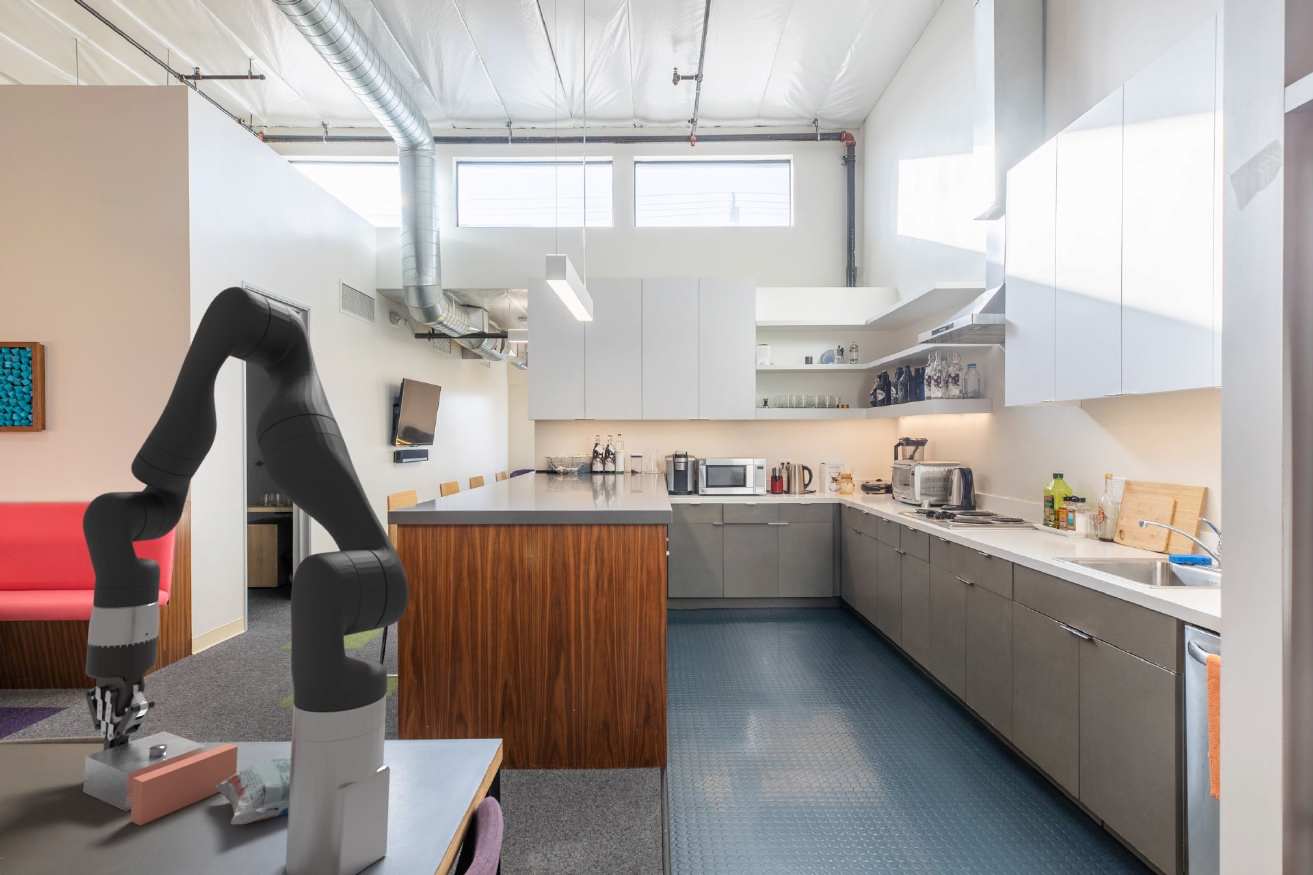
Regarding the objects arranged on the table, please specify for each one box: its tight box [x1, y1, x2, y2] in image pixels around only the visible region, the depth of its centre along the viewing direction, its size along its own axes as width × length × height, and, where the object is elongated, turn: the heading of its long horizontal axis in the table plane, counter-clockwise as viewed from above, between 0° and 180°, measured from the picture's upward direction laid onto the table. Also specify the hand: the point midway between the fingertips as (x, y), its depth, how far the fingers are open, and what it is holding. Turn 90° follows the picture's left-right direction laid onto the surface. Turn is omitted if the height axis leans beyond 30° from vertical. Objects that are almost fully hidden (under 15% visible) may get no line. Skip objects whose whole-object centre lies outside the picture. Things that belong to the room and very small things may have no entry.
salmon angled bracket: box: [130, 743, 239, 826], centre depth 83 cm, size 12×11×5 cm
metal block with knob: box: [82, 731, 207, 812], centre depth 84 cm, size 10×9×6 cm
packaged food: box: [215, 758, 291, 825], centre depth 80 cm, size 9×12×5 cm
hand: (114, 763), depth 87 cm, fingers closed
